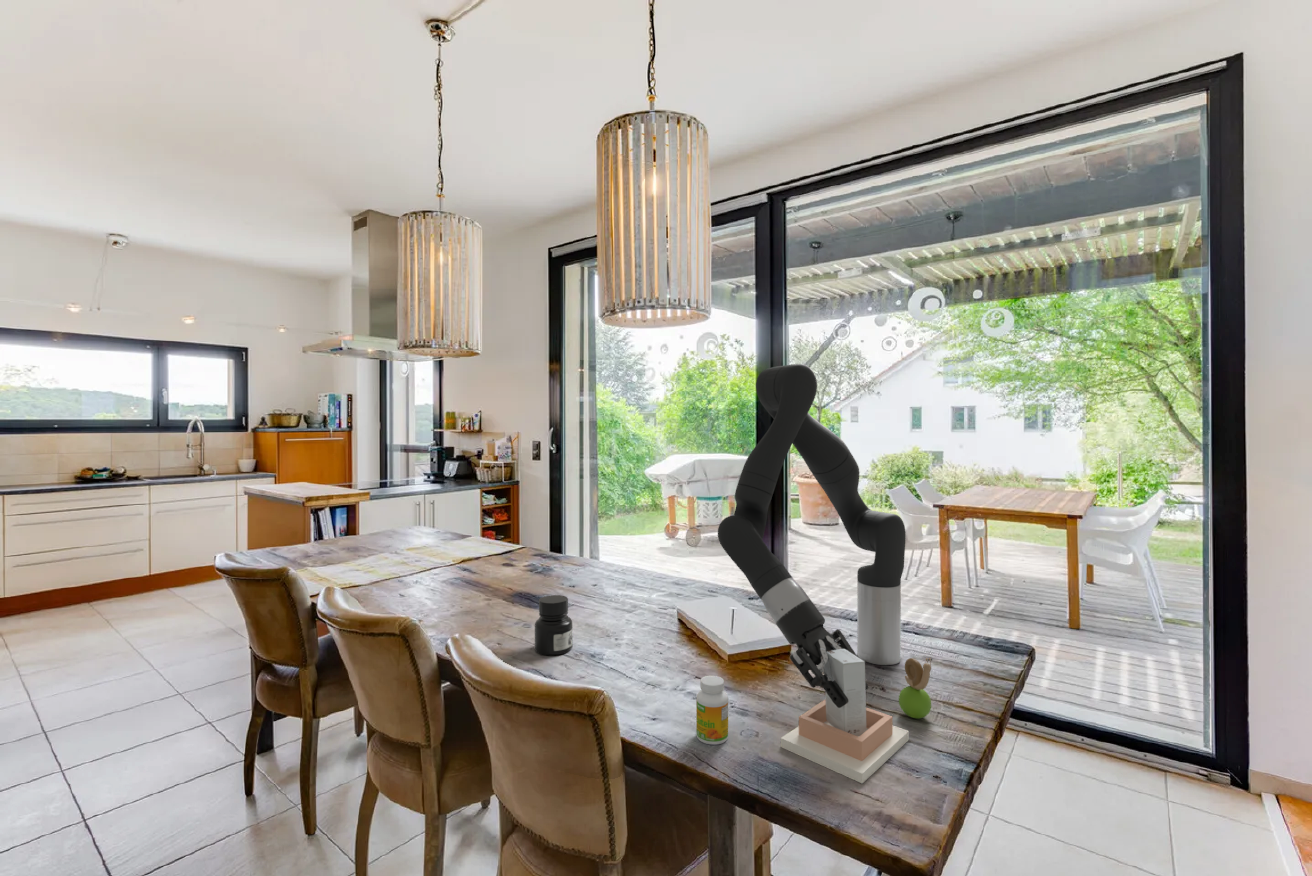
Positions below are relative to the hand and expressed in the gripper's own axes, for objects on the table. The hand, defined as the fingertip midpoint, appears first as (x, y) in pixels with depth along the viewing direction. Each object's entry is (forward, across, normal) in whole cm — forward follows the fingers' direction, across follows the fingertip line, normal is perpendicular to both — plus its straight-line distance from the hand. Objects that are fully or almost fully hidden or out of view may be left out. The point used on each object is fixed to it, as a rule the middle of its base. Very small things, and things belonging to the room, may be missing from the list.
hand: (854, 697), depth 96 cm
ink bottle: (-44, -10, +56) cm, 72 cm away
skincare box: (+3, 0, +5) cm, 6 cm away
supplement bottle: (-7, -14, +19) cm, 25 cm away
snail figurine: (+8, +17, +3) cm, 19 cm away
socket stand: (+5, 0, +7) cm, 8 cm away
